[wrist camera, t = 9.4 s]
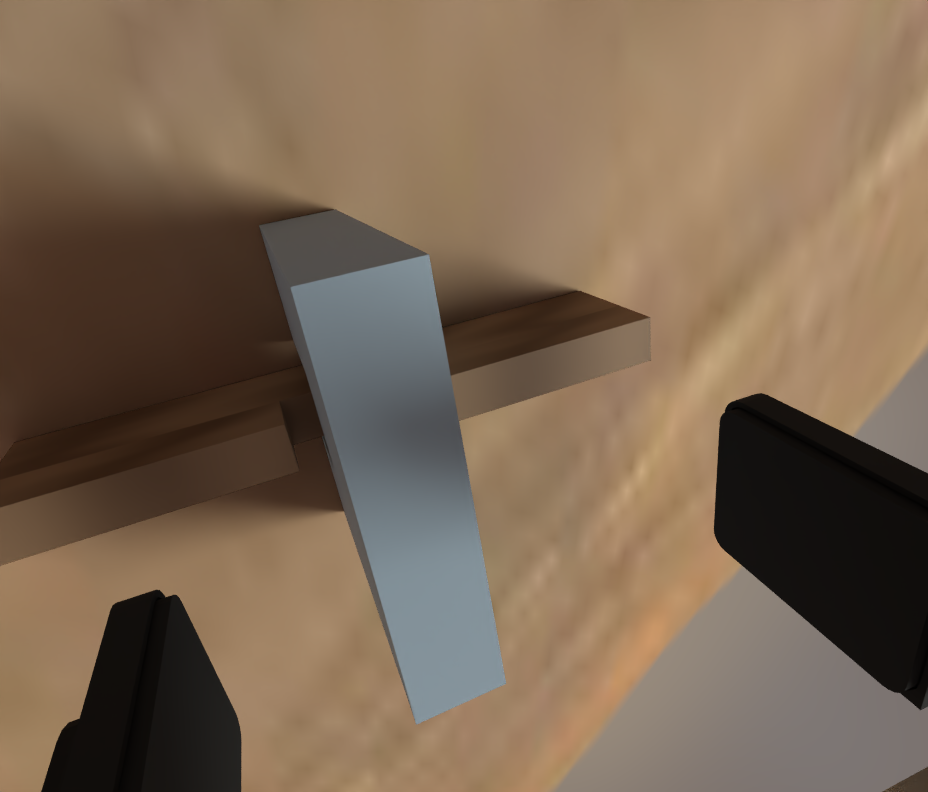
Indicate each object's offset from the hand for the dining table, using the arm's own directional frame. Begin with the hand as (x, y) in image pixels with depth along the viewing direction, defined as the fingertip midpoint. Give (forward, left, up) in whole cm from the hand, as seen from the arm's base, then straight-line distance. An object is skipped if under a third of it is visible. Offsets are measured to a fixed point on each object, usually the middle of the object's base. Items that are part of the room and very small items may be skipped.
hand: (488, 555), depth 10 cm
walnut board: (+1, 0, -11) cm, 11 cm away
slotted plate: (+1, 0, -11) cm, 11 cm away
